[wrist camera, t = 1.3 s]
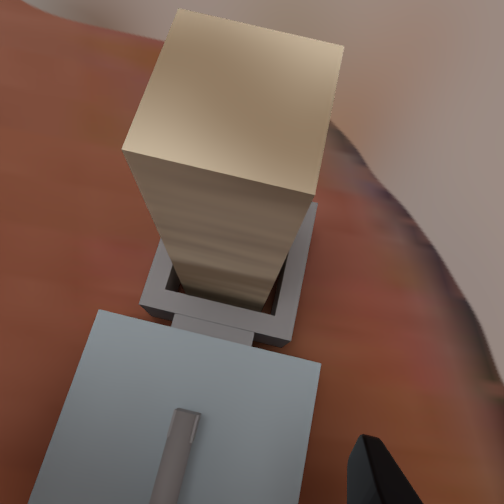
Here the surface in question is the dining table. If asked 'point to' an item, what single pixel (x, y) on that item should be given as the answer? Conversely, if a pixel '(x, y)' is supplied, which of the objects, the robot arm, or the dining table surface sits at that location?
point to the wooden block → (232, 150)
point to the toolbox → (187, 401)
